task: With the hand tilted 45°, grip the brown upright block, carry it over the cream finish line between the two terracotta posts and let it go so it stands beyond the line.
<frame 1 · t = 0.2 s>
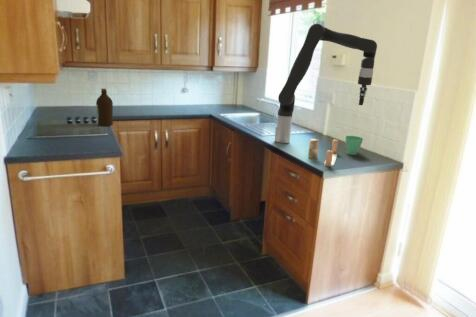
hand: (361, 104, 213), 29 cm above the worktop, tool pointing down, fingers open, 8 cm apart
brown upright block: (312, 157, 204), on the worktop
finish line: (331, 159, 203), on the worktop
olive oil: (105, 125, 252), on the worktop
mug: (351, 153, 218), on the worktop
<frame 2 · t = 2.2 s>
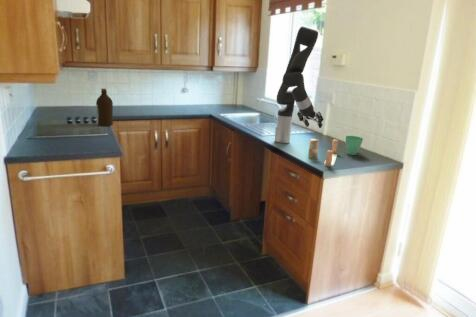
hand: (314, 126, 202), 17 cm above the worktop, tool tilted 40°, fingers open, 8 cm apart
nothing on the worktop moved.
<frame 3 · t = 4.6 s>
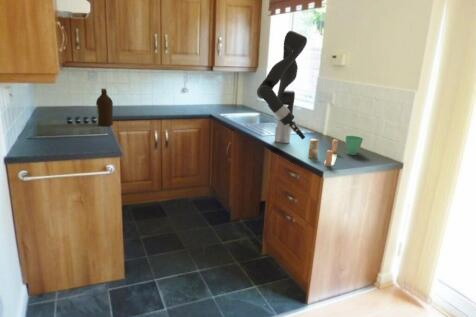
hand: (302, 136, 200), 12 cm above the worktop, tool tilted 45°, fingers open, 8 cm apart
nothing on the worktop moved.
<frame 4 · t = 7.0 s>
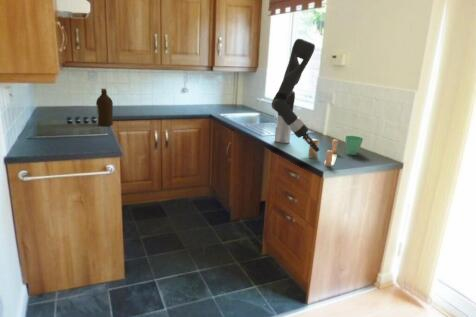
hand: (316, 149, 203), 5 cm above the worktop, tool tilted 45°, fingers closed on brown upright block, 5 cm apart
brown upright block: (312, 157, 204), on the worktop, touching gripper
everything else where it was.
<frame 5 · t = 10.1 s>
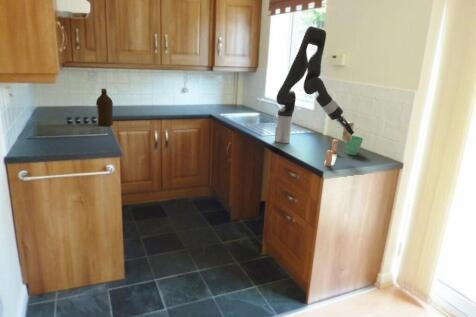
hand: (351, 132, 197), 16 cm above the worktop, tool tilted 45°, fingers closed on brown upright block, 5 cm apart
brown upright block: (346, 140, 198), point 11 cm above the worktop, touching gripper
everything else where it was.
when the fingers open (6 cm above the worktop, at t = 13.0 s): brown upright block drops 1 cm, on the worktop.
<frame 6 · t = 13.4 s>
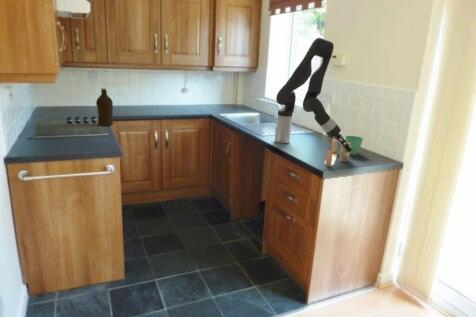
hand: (348, 149, 199), 7 cm above the worktop, tool tilted 45°, fingers open, 8 cm apart
brown upright block: (343, 160, 201), on the worktop
everything else where it was.
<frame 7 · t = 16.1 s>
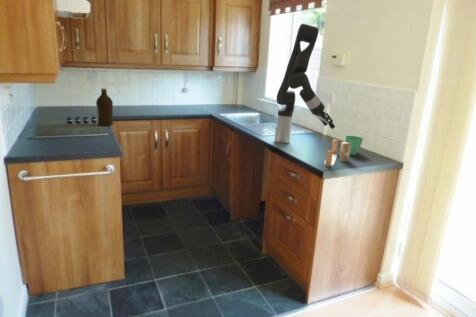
hand: (329, 126, 201), 18 cm above the worktop, tool tilted 40°, fingers open, 8 cm apart
nothing on the worktop moved.
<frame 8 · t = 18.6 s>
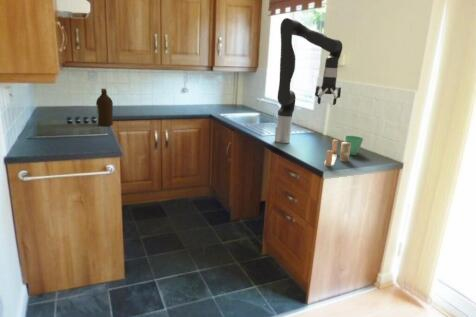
hand: (326, 104, 211), 28 cm above the worktop, tool pointing down, fingers open, 8 cm apart
nothing on the worktop moved.
at the end: brown upright block inside the target area (1.1 cm from its centre), on the worktop; brown upright block tilted 0°; the gripper is holding nothing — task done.
